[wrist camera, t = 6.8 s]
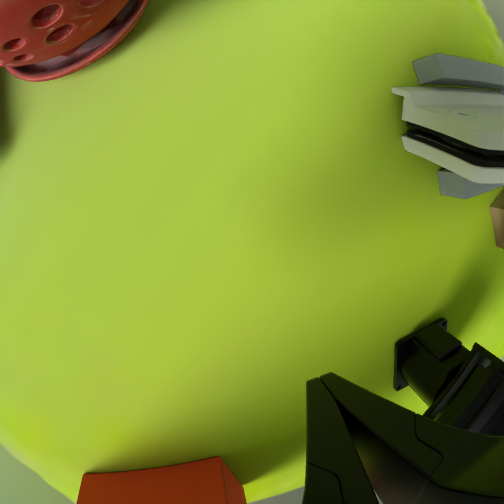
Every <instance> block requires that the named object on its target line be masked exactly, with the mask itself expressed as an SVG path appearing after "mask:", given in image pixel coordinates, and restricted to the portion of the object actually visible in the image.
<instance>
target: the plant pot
mask: <svg viewBox="0 0 504 504" xmlns="http://www.w3.org/2000/svg"><path fill="white" fill-rule="evenodd" d="M148 1H149V0H0V67H6V69H7V70H8V71H9V72H10V73H11V74H12V75H14V76H16V77H17V78H20V79H22V80H26V81H32V82H40V81H48V80H53V79H57V78H60V77H63V76H66V75H69V74H72V73H74V72H76V71H78V70H80V69H82V68H84V67H86V66H88V65H89V64H91V63H93V62H95V61H96V60H98V59H99V58H101V57H102V56H104V55H105V54H106V53H108V52H109V51H110V50H111V49H113V48H114V47H115V46H116V45H117V44H118V43H119V42H120V41H121V40H122V39H123V38H124V37H125V36H126V35H127V34H128V33H129V32H130V31H131V30H132V28H133V27H134V26H135V25H136V23H137V22H138V20H139V19H140V17H141V16H142V14H143V12H144V10H145V8H146V6H147V4H148Z"/></svg>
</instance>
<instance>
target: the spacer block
mask: <svg viewBox="0 0 504 504" xmlns="http://www.w3.org/2000/svg"><path fill="white" fill-rule="evenodd" d="M489 208H490V212H491V217H492V223H493V228H494V234H495V240H496V246H498V247H501V248H503V249H504V190H503V192H502V193H501V194H500V195H499V196H498V197H497V198H496V199H495V201H494V202H493V203H492V204H491V205H490V206H489Z"/></svg>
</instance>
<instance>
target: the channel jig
mask: <svg viewBox="0 0 504 504" xmlns="http://www.w3.org/2000/svg"><path fill="white" fill-rule="evenodd" d="M413 66H414V69H415V72H416V75H417V79H418V82H419V84H436V85H455V86H469V87H479V88H488V89H496V90H500V93H503V94H504V67H502V66H498V65H494V64H490V63H486V62H482V61H477V60H472V59H467V58H462V57H457V56H451V55H444V54H437V53H435V54H432V55H429V56H427V57H424V58H421V59H418V60H416V61H413ZM438 179H439V187H440V195H445V196H451V197H456V198H461V199H468V198H471V197H474V196H476V195H479V194H482V193H485V192H488V191H491V190H494V189H496V188H499V187H502V186H504V183H497V184H488V183H476V182H472V181H470V180H468V179H466V178H464V177H462V176H460V175H458V174H456V173H454V172H452V171H450V170H448V169H445V170H441V171H438Z"/></svg>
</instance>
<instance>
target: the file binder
mask: <svg viewBox="0 0 504 504" xmlns="http://www.w3.org/2000/svg"><path fill="white" fill-rule="evenodd" d="M77 504H247V503H246V498H245V493H244V489H243V487H242V484H241V483H240V482H239V481H238V479H237V478H236V477H235V476H234V474H233V473H232V472H231V471H230V469H229V468H228V467H227V466H226V464H225V463H224V462H223V460H222V459H221V458H220V456H217V457H213V458H208V459H204V460H199V461H194V462H189V463H184V464H178V465H172V466H166V467H160V468H152V469H144V470H136V471H125V472H112V473H91V474H84V475H83V477H82V481H81V486H80V490H79V495H78V499H77Z"/></svg>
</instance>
